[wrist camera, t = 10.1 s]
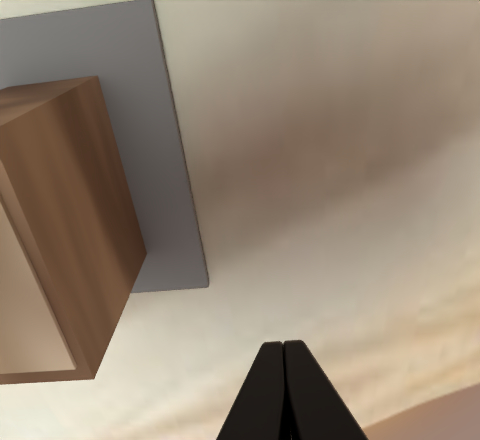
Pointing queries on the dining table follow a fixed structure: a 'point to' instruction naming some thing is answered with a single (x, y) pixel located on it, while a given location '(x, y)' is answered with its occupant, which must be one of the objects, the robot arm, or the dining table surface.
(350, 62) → the dining table surface
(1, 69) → the mat
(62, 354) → the slab
